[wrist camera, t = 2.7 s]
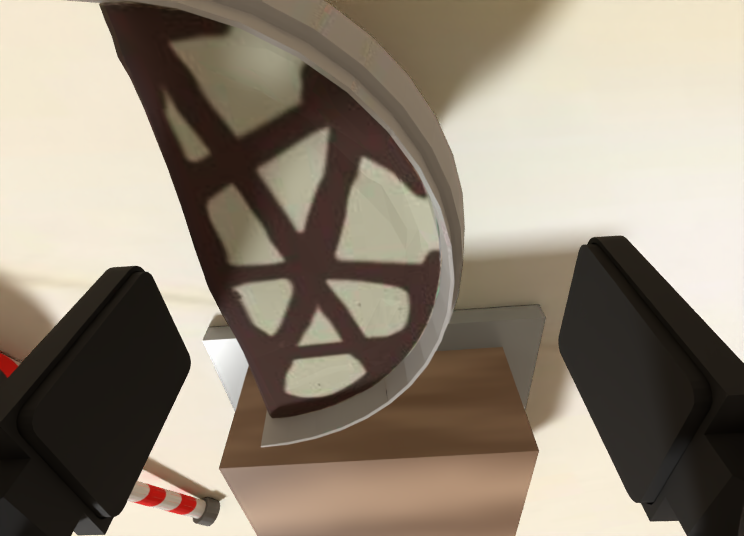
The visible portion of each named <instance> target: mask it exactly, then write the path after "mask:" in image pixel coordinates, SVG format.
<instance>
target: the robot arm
mask: <svg viewBox="0 0 744 536" xmlns="http://www.w3.org/2000/svg"><path fill="white" fill-rule="evenodd" d="M558 341H559V349H560V353H561V355H562V357H563V359H564V362H565V364H566V366H567V368H568V370H569V372H570V374H571V376H572V378H573V380H574V382H575V384H576V387H577V389H578V391H579V393H580V395H581V397H582V399H583V401H584V403H585V405H586V407H587V409H588V412H589V414H590V416H591V418H592V420H593V422H594V424H595V426H596V428H597V430H598V432H599V434H600V437H601V439H602V441H603V443H604V445H605V447H606V449H607V451H608V453H609V455H610V457H611V459H612V462H613V464H614V466H615V468H616V470H617V472H618V474H619V476H620V478H621V480H622V482H623V485H624V487H625V489H626V491H627V493H628V494H629V496H630V498H631V499H632V500H633V501H634V502H636V503H641V504H642V506H643V508H644V510H645V512H646V514H647V516H648V518H649V520H650V521H679V522H680V524H681V526H682V528H683V529H684V531H685V533H686V535H687V536H744V363H743V362H742V361H741V360H740V359H739V358H738V357H737V356H736V355H735V354H734V352H733V351H732V350H731V349H730V348H729V347H728V346H727V345H726V344H725V343H724V342H723V341H722V340H721V339H720V338H719V336H718V335H717V334H716V333H715V332H714V331H713V330H712V329H711V328H710V327H709V326H708V325H707V324H706V323H705V322H704V320H703V319H702V318H701V317H700V316H699V315H698V314H697V313H696V312H695V311H694V310H693V309H692V308H691V307H690V306H689V304H688V303H687V302H686V301H685V300H684V299H683V298H682V297H681V296H680V295H679V294H678V293H677V292H676V291H675V290H674V289H673V287H672V286H671V285H670V284H669V283H668V282H667V281H666V280H665V279H664V278H663V277H662V276H661V275H660V274H659V273H658V271H657V270H656V269H655V268H654V267H653V266H652V265H651V264H650V263H649V262H648V261H647V260H646V259H645V258H644V257H643V255H642V254H641V253H640V252H639V251H638V250H637V249H636V248H635V247H634V246H633V245H632V244H631V243H630V242H629V241H628V239H627V238H625V237H624V236H606V237H593V238H591V239H590V240H589V242H588V244H587V245H582V246H581V247H580V250H579V253H578V257H577V261H576V266H575V270H574V274H573V278H572V283H571V287H570V291H569V295H568V300H567V304H566V308H565V313H564V317H563V321H562V325H561V330H560V334H559V340H558ZM190 366H191V360H190V356H189V353H188V351H187V349H186V347H185V345H184V342H183V340H182V338H181V336H180V334H179V332H178V330H177V328H176V325H175V323H174V321H173V319H172V317H171V315H170V313H169V311H168V308H167V306H166V304H165V302H164V300H163V298H162V296H161V293H160V291H159V289H158V287H157V285H156V283H155V281H154V279H153V277H152V275H151V274H150V273H149V272H145V271H144V270H143V269H142V268H141V267H139V266H127V267H113V268H109V269H108V270H107V271H105V273H104V274H103V275H102V276H101V277H100V278H99V279H98V280H97V281H96V282H95V283H94V285H93V286H92V287H91V288H90V289H89V290H88V291H87V292H86V293H85V294H84V295H83V297H82V298H81V299H80V300H79V301H78V302H77V303H76V304H75V305H74V306H73V307H72V308H71V310H70V311H69V312H68V313H67V314H66V315H65V316H64V317H63V318H62V319H61V320H60V322H59V323H58V324H57V325H56V326H55V327H54V328H53V329H52V330H51V331H50V332H49V333H48V335H47V336H46V337H45V338H44V339H43V340H42V341H41V342H40V343H39V344H38V345H37V347H36V348H35V349H34V350H33V351H32V352H31V353H30V354H29V355H28V356H27V357H26V358H25V360H24V361H23V362H22V363H21V364H20V365H19V366H18V367H17V368H16V369H15V370H14V372H13V373H12V374H11V375H10V376H9V377H8V378H7V379H6V380H5V381H4V382H3V383H2V385H1V386H0V536H71V535H72V533H73V531H74V532H75V533H76V534H77V535H105V534H106V532H107V530H108V528H109V526H110V524H111V521H112V519H113V517H115V516H117V515H119V514H120V513H121V511H122V510H123V508H124V507H125V505H126V503H127V501H128V498H129V496H130V494H131V492H132V490H133V488H134V486H135V484H136V482H137V480H138V477H139V475H140V473H141V471H142V469H143V467H144V465H145V463H146V461H147V459H148V457H149V454H150V452H151V450H152V448H153V446H154V444H155V442H156V440H157V438H158V436H159V433H160V431H161V429H162V427H163V425H164V423H165V421H166V419H167V417H168V415H169V413H170V410H171V408H172V406H173V404H174V402H175V400H176V398H177V396H178V394H179V392H180V390H181V387H182V385H183V383H184V381H185V379H186V377H187V375H188V373H189V370H190Z"/></svg>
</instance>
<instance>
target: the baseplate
mask: <svg viewBox="0 0 744 536" xmlns="http://www.w3.org/2000/svg"><path fill="white" fill-rule="evenodd" d="M545 319H546V317H545V315H544V313H543V311H542V309H541V307H540V305H527V306H512V307H498V308H483V309H469V310H454V311H453V313H452V316H451V319H450V322H449V324H448V326H447V328H446V329H445V332H444V335H443V338H442V341H441V343H440V345H439V346H438V348H437V350H436V351H448V350H464V349H479V348H494V347H503V350H504V352H505V355H506V358H507V361H508V364H509V367H510V370H511V372H512V375H513V378H514V381H515V384H516V387H517V390H518V392H519V395H520V398H521V401H522V404H523V407H524V410H525V409H526V405H527V400H528V396H529V391H530V386H531V382H532V377H533V373H534V368H535V364H536V359H537V355H538V350H539V346H540V341H541V337H542V332H543V328H544V323H545ZM203 343H204V345H205V347H206V349H207V352H208V354H209V356H210V358H211V360H212V363H213V365H214V367H215V369H216V371H217V373H218V376H219V378H220V380H221V382H222V384H223V387H224V389H225V391H226V393H227V395H228V397H229V400H230V402H231V404H232V406H233V408H234V411H236V408H237V404H238V401H239V397H240V394H241V390H242V387H243V383H244V380H245V376H246V373H247V369H248V366H249V365H248V362H247V360H246V358H245V355H244V353H243V351H242V349H241V347H240V345H239V343H238V341H237V339H236V337H235V336H234V334H233V332H232V330H231V329H230V327H229V326H222V327H208V329H207V331H206V334H205V336H204V338H203Z"/></svg>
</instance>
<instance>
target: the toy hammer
mask: <svg viewBox="0 0 744 536" xmlns="http://www.w3.org/2000/svg"><path fill="white" fill-rule="evenodd" d="M20 364H21V363H20V362H18V361H16V360H14V359H12V358H10V357H8V356H6V355H4V354H2V353H0V386H1V385H2V383H3V382H4V381H5V380H6V379H7V378H8V377H9V376H10V375H11V374H12V373H13V372H14V370H15V369H16V368H17V367H18V366H19V365H20ZM128 501H130V502H134V503H138V504H141V505H145V506H149V507H153V508H157V509H161V510H165V511H169V512H173V513H177V514H181V515H184V516H188V517H192V518H193V521H194V522H195V523H197V524H201V525H205V526H210V525H211V524H213V523H214V521H215V520H216V518H217V516H218V513H219V510H220V503H219V501H217V500H214V499H211V498H208V497H206V498H204V499H202V500H201V499H198V498H194V497H191V496H187V495H184V494H180V493H177V492H173V491H170V490H166V489H163V488H159V487H156V486H152V485H149V484H146V483H142V482H139V481H137V482H136V484H135V486H134V488H133V490H132V492H131V494H130V496H129V498H128Z"/></svg>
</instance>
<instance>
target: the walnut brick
mask: <svg viewBox="0 0 744 536" xmlns="http://www.w3.org/2000/svg"><path fill="white" fill-rule="evenodd" d="M266 413H267V408H266V406H265V404H264V401H263V399H262V396H261V394H260V391H259V389H258V386H257V384H256V382H255V379H254V377H253V374H252V372H251V370H250V367H249V366H248V369H247V373H246V376H245V380H244V383H243V387H242V390H241V394H240V397H239V401H238V404H237V408H236V411H235V414H234V418H233V421H232V425H231V428H230V432H229V435H228V439H227V442H226V446H225V449H224V453H223V456H222V460H221V463H220V467H219V470H220V471H221V473H222V475H223V477H224V478H225V480H226V482H227V484H228V485H229V487H230V489H231V491H232V492H233V494H234V496H235V497H236V499H237V501H238V503H239V504H240V506H241V508H242V510H243V511H244V513H245V515H246V517H247V518H248V520H249V522H250V524H251V525H252V527H253V529H254V531H255V532H256V534H257V536H515V535H516V531H517V528H518V524H519V521H520V517H521V513H522V510H523V506H524V503H525V499H526V496H527V492H528V488H529V485H530V481H531V478H532V474H533V471H534V467H535V463H536V460H537V456H538V453H539V449H538V447H537V444H536V441H535V438H534V435H533V432H532V429H531V427H530V424H529V421H528V418H527V415H526V412H525V410H524V407H523V404H522V401H521V398H520V395H519V392H518V390H517V387H516V384H515V381H514V378H513V375H512V372H511V370H510V367H509V364H508V361H507V358H506V355H505V352H504V350H503V347H494V348H479V349H464V350H448V351H436V352H435V353H434V355H433V357H432V359H431V361H430V362H429V364H428V366H427V367H426V368H425V369H424V371H423V372H422V373H421V374H420V375H419V377H418V378H417V379H416V380H415V381H414V383H413V384H412V385H411V386H410V387H409V388H408V389H407V390H406V391H404V392H403V393H402V394H401V395H400V396H399V397H397V398H396V399H395V400H394V401H393V402H392V403H391V404H389V405H388V406H386V407H384V408H383V409H381V410H380V411H378V412H377V413H375V414H373V415H372V416H370V417H369V418H367V419H365V420H363V421H361V422H358V423H356V424H354V425H352V426H350V427H348V428H346V429H343V430H341V431H338V432H335V433H332V434H329V435H326V436H323V437H319V438H316V439H312V440H307V441H303V442H298V443H293V444H289V445H280V446H270V447H261V441H262V436H263V430H264V424H265V418H266Z"/></svg>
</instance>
